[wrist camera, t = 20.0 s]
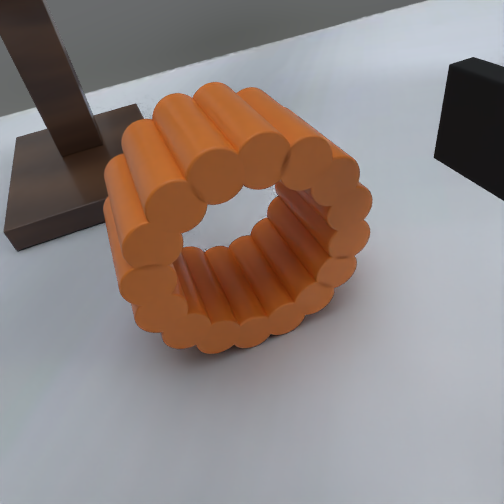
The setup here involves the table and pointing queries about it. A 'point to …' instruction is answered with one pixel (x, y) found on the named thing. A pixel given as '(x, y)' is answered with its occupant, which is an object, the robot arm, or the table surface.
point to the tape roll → (219, 191)
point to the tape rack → (55, 135)
